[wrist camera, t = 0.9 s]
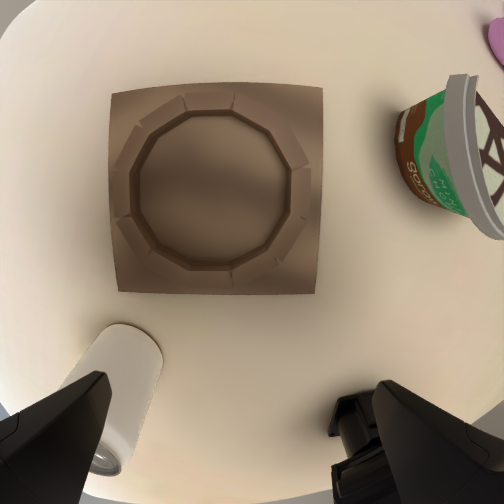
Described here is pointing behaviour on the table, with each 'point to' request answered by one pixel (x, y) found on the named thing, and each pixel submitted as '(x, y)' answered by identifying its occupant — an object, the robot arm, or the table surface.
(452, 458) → the robot arm
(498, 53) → the container set
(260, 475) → the table surface
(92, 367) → the can
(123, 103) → the brown ring stand base
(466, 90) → the food container
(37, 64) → the table surface
